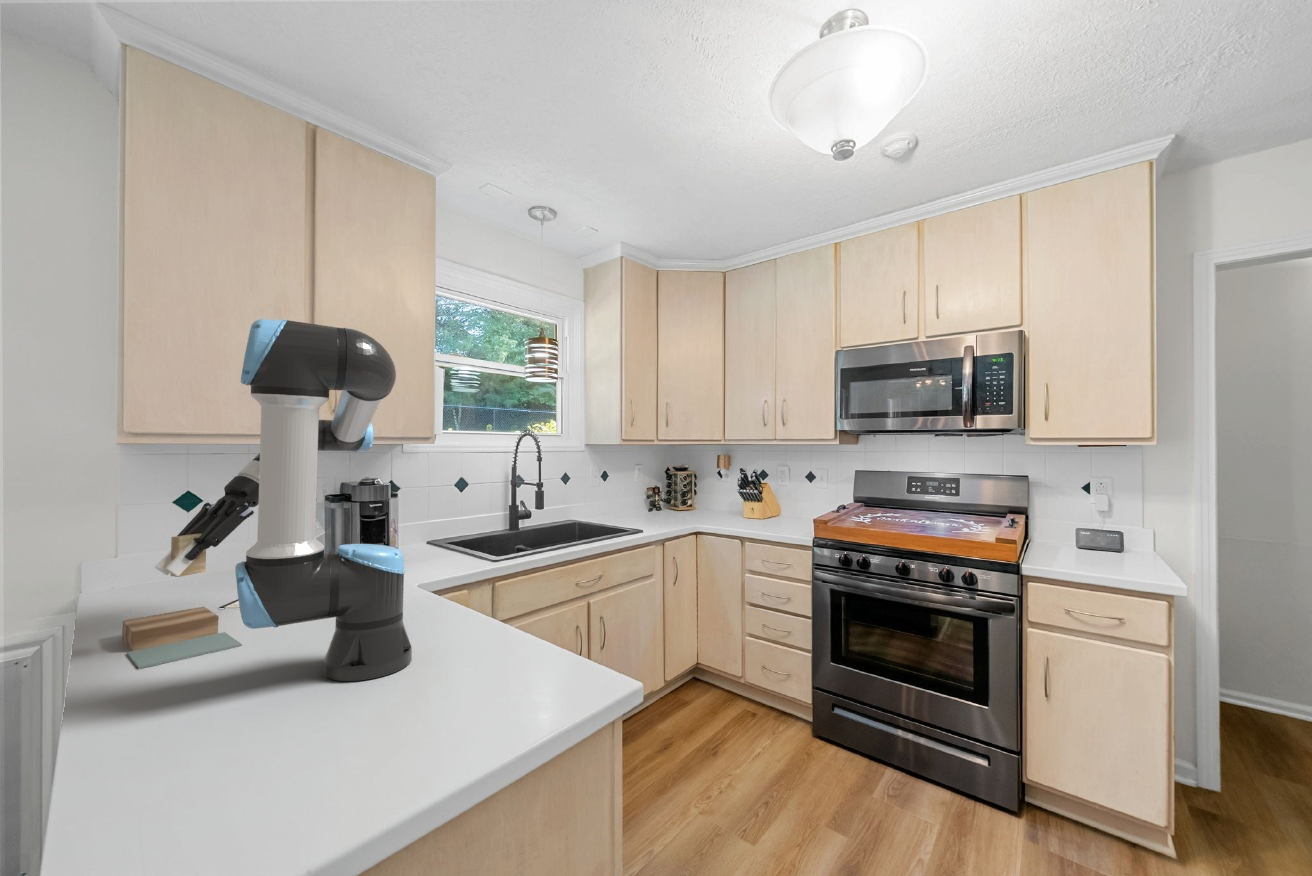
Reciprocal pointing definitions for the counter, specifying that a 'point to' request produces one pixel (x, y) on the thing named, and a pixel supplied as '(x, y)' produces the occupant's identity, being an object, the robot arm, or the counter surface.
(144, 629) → the walnut block
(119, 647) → the counter surface
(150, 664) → the rubber mat
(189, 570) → the birch block
